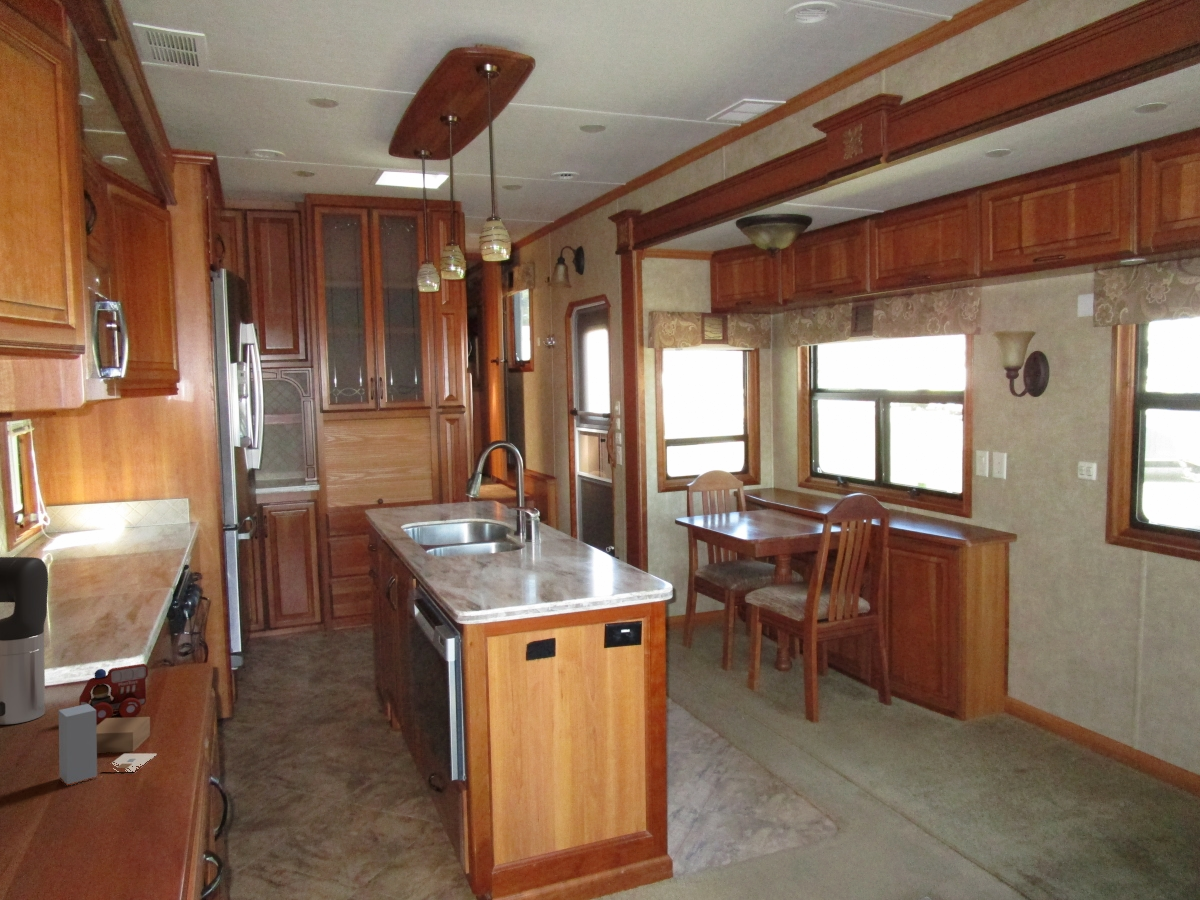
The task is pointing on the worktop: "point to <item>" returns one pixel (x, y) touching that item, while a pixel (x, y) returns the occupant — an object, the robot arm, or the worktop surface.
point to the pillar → (77, 743)
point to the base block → (122, 734)
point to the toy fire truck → (117, 691)
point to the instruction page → (132, 761)
